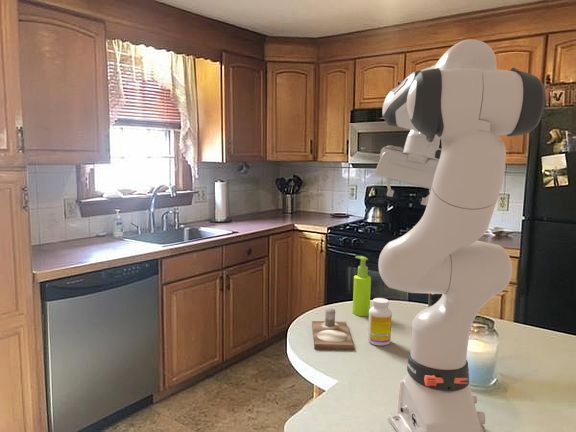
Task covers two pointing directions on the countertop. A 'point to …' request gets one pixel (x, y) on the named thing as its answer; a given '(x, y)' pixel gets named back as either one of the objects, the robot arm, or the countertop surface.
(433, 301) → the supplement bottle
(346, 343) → the board
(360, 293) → the soap dispenser
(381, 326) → the supplement bottle
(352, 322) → the countertop surface
